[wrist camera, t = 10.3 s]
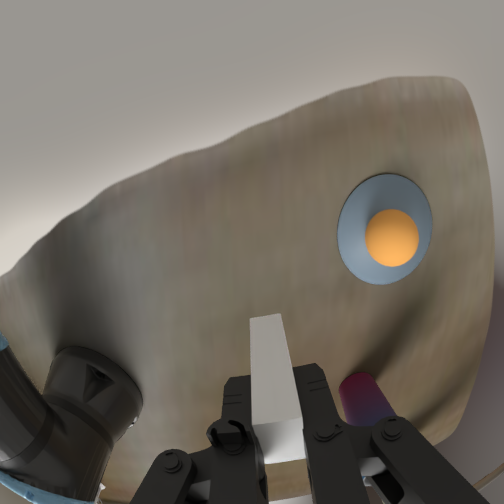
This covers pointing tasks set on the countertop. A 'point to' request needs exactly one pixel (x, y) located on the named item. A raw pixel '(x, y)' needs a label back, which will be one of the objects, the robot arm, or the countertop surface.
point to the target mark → (364, 209)
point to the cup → (363, 402)
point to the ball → (391, 237)
